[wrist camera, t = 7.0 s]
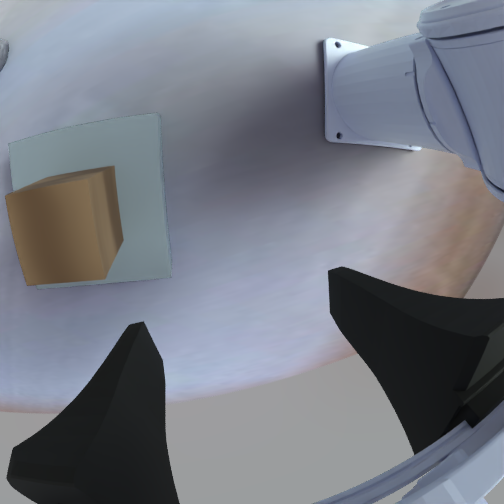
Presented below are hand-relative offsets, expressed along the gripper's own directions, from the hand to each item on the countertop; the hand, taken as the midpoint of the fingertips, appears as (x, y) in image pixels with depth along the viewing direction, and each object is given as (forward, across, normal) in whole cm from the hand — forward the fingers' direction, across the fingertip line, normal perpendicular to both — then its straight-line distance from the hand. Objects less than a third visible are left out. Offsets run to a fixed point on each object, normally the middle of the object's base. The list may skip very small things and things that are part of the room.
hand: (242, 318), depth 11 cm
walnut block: (+8, +7, -4) cm, 12 cm away
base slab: (+11, +7, -4) cm, 14 cm away
